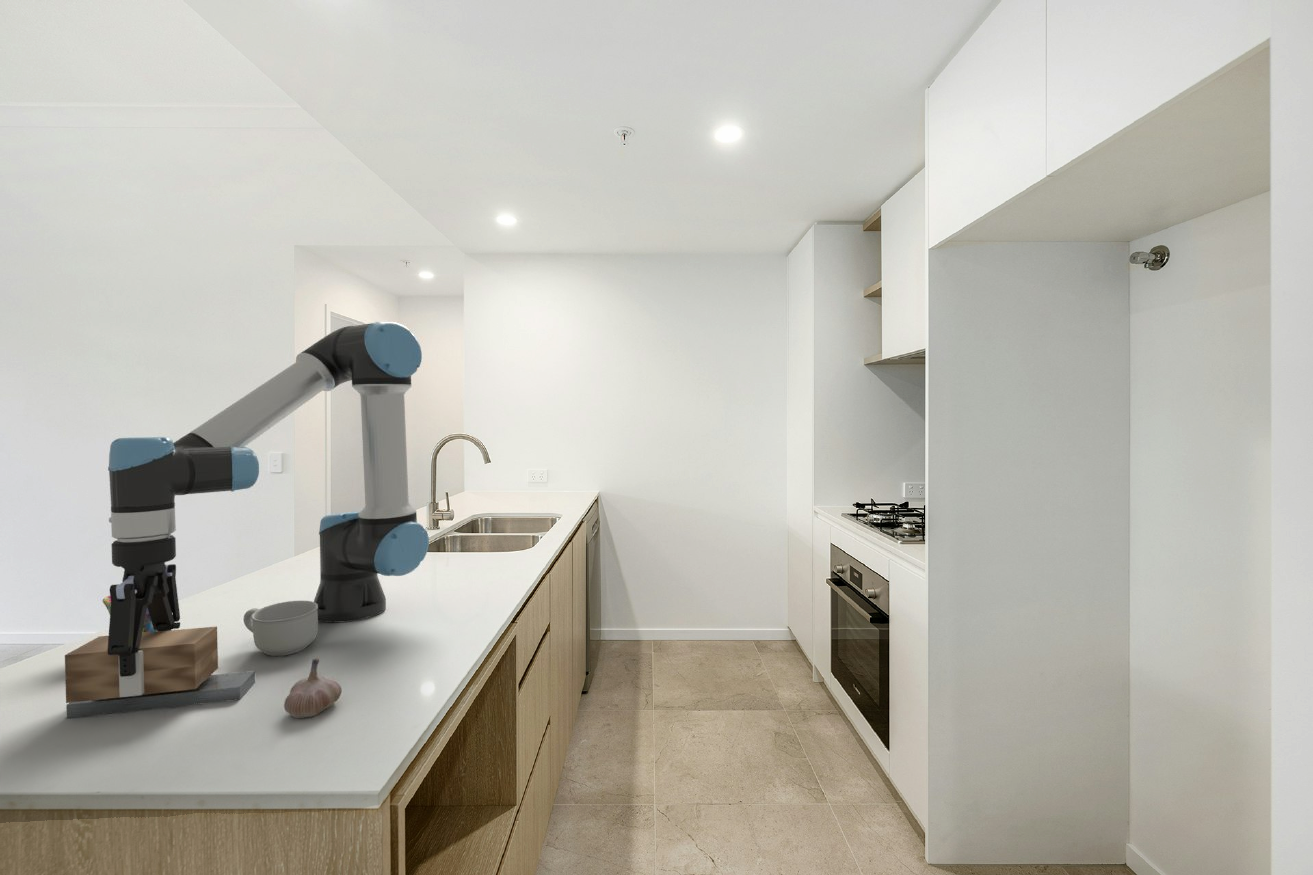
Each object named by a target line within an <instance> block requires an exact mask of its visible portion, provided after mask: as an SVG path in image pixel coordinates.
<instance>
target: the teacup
mask: <svg viewBox="0 0 1313 875" xmlns="http://www.w3.org/2000/svg"><path fill="white" fill-rule="evenodd" d="M317 609H318V605H317V603H315V602H314V601H312V600H289V601H284V602H277V603H274V604H270V605H267V606H264V607H262V608H258V607H257V608H256V607H255V608H253V607H252V608H251V609H249V610H247V611H246V612H245V613H244V615H243V623H244V626H245V628H246V629H247V630H248V631H249V632H250V633H252V636H253V642H254V646H255V647H256V649H257V650H259V651H260V652H262V653H264V654H266V655H268V656H272V657H282V656H287V655H292V654H295V653H298V652H301V651H303V650H305V649H306V648H307V646H309V645H310V644H311V643H312V642H313V641H314V640H315V638H316V636H317V634H318V628H319V625H318V624H319V623H318V622H319V621H318V613H317Z"/></svg>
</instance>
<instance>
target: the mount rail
mask: <svg viewBox="0 0 1313 875" xmlns="http://www.w3.org/2000/svg"><path fill="white" fill-rule="evenodd" d="M255 683H256V671H255V670H250V671H249V670H248V671H241V672H239V671H238V672H229V673H228V672H227V673H219V674H211V675H210V676H209V677H208V678H207V679H206V680H205V681H204V682H203V683H202V684H200V685H199V686H198V687H197V688H196V689H191V690H182V691H173V692H164V693H155V694H145V695H137V696H128V697H118V698H108V699H99V700H90V701H81V702H71V703H66V708H65V709H66V719H73V718H83V717H92V716H93V717H94V716H103V715H111V714H120V713H128V712H137V711H138V712H139V711H147V710H149V711H150V710H156V709H157V710H158V709H166V708H174V707H175V708H176V707H185V706H194V705H203V704H210V703H221V702H223V703H224V702H231V701H240V700H241V699H242V698H243V697H244V696H245V695H246V694H247V692H249V690H250V689H251V688H252V687H253V686H254V685H255Z"/></svg>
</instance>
